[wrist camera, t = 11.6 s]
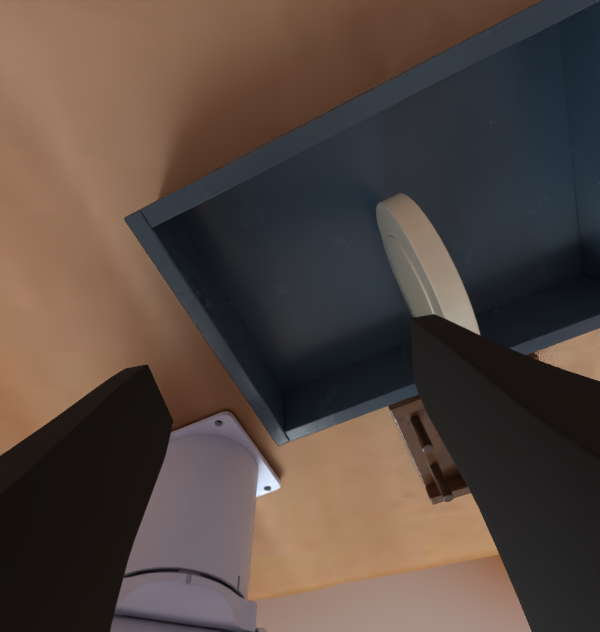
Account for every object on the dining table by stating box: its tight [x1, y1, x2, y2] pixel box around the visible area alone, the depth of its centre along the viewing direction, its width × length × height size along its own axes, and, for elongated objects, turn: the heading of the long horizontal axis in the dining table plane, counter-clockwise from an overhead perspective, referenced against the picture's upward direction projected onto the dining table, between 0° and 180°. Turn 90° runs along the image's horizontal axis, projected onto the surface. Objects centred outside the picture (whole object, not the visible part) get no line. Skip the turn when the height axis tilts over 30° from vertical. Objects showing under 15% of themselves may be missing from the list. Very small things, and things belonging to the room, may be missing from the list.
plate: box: [376, 193, 480, 335], centre depth 15 cm, size 1×8×8 cm, turn 25°
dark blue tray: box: [124, 0, 600, 446], centre depth 17 cm, size 20×14×4 cm
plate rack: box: [388, 352, 539, 505], centre depth 23 cm, size 9×10×3 cm
